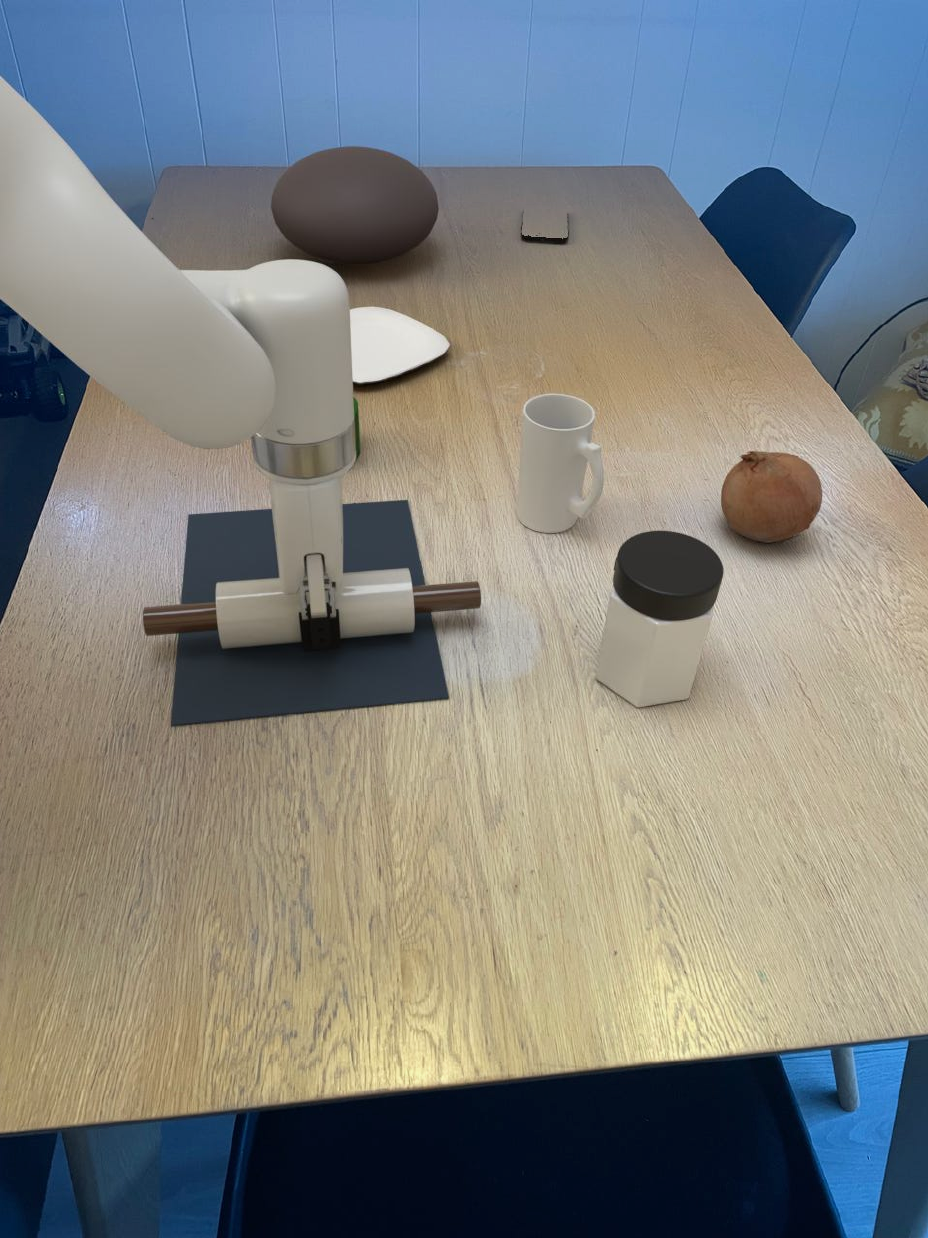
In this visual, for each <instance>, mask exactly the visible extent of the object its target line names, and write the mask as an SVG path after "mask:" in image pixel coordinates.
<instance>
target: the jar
mask: <svg viewBox="0 0 928 1238" xmlns="http://www.w3.org/2000/svg"><path fill="white" fill-rule="evenodd" d="M724 570H725V569H724V564H723V561H722V559H721V558H720V556H719V555H718V553H717V552H716V551H715V550H714V549H713V548H712V547H711V546H709V545H708V544H706V543H705V542H704V541H702V540H700V539H698V538H696V537H694V536H692V535H688V534H685V533H682V532H678V531H672V530H649V531H643V532H640V533H637V534H635V535H633V536H631V537H629V538H628V539H626V540H625V541H624V542H623V543H622V544H621V545H620V546H619V549H618V551H617V555H616V557H615V561H614V566H613V577H612V586H611V587H612V588H611V591H610V595H609V599H608V605H607V611H606V616H605V622H604V627H603V631H602V632H603V633H602V637H601V643H600V648H599V654H598V660H597V663H596V664H597V665H596V670H595V675H594V676H595V677H594V678H595V679H596V680H597V681H598V682H600V683H601V684H603V685H604V686H605V687H607V688H608V689H609V690H611V691H613V692H614V693H616V694H617V695H619V696H620V697H622V698H623V699H624V700H626V701H627V702H628V703H630V704H631V705H633V706H634V707H636V708H644V707H650V706H655V705H661V704H668V703H672V702H673V703H674V702H678V701H685V700H688V699H689V698H690V695H691V693H692V688H693V685H694V681H695V678H696V675H697V671H698V668H699V665H700V661H701V658H702V655H703V651H704V647H705V643H706V641H707V638H708V637H707V636H708V634H709V629H710V627H711V623H712V619H713V615H714V607H715V604H716V602H717V600H718V596H719V592H720V588H721V586H722V582H723V578H724V574H725V573H724V572H725V571H724Z"/></svg>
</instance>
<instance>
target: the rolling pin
mask: <svg viewBox="0 0 928 1238" xmlns="http://www.w3.org/2000/svg"><path fill="white" fill-rule="evenodd" d="M324 579H329V577H328V576H327V574H324ZM306 580H308V576H304V579H303V581H306ZM480 585H481V584H480V583H479V581H478V580H472V581H459V582H449V583H447V582H446V583H435V584H425V585H420V586H412V581H411V576H410V571H409V569H408V568H399V569H386V570H373V571H360V572H347V573H343V583H342V586H341V587H340V588H339V589H338V590H337V591H336V589H335V588H334V593H335V605H336V609H339V621H340V636H341V639H345V638H356V637H368V636H380V635H391V634H403V633H413V632H414V626H415V614H419V613H431V614H432V613H441V612H453V611H454V612H455V611H465V610H476V609H477V610H478V609H480V608H481V606H482V591H481V586H480ZM306 596H307V606H308V604H310V598H309V592H306ZM325 597H326V602H328V603H329V600H328V590H327V591H325ZM299 612H301V603H300V592H299V590H298V592H297V594H289V595H286V594H284V593H283V592H282V591H281V588H280V578H267V579H254V580H241V581H227V582H217V584H216V602H204V603H192V604H181V603H180V604H166V605H156V606H144V607H143V610H142V623H143V630H144V634H145V636H146V637H154V636H155V637H156V636H163V635H164V636H166V635H167V636H168V635H178V634H179V633H191V632H203V631H215V630H218V632H219V638H220V643H221V646H222V648H223V649H229V648H241V647H252V646H264V645H276V644H287V643H299V642H302V641H301V632H300V622H299Z"/></svg>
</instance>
